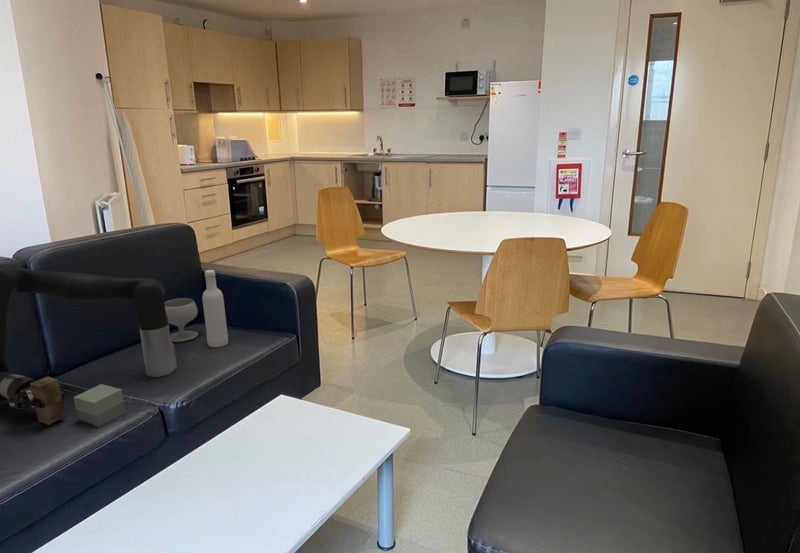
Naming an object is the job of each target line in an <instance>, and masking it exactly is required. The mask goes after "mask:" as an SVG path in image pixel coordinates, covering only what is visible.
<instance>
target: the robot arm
mask: <svg viewBox="0 0 800 553" xmlns="http://www.w3.org/2000/svg"><path fill="white" fill-rule="evenodd" d="M15 293H16V294H18V293H25V294H27V293H29V294H39V295H40V294H41V295H45V296H48V297H52V298H54V299H60V300H65V301H71V302H83V303H84V302H85V303H86V302H89V303H91V302H92V303H93V302H102V301H103V302H104V301H109V300H110V301H111V300H129V301H133V306H134V310H135V311H134V312H135V318H136V322H137V324H138V329H139V334H140V342H141V347H142V353H143V354H142V355H143V360H144V366H145V374H146V376H148V377H150V378H159V377H165V376H168V375H170V374H172V373H173V372H174V371H175V370H176V369H178V366H177V365H178V364H177V358H176V350H175V343H174V342H171V339H170V335H171V334H170V332H171V331H170V325H169V323H168V318H167V315H166V310H165V298H164V296H165V293H166V292H165V287H164V285H163V283H161V282H160V281H159V280H157V279H155V278H143V277H141V278H139V277H138V278H134V277H133V278H127V277H126V278H125V277H114V276H109V275H108V276H107V275H100V274H99V275H98V274H92V273H91V274H90V273H84V272H83V273H82V272H74V271H73V272H67V271H46V270H45V271H43V270H34V269H29V268H23V267H17V266H13V265H7V264H5V265H4V264H2V265H0V396H2V397H4V398H5V399H7V400H8V405H9V408H11V409H17V410H24V411H25V410H28V409H29V407H30V408H35V407H36V408H42V409H43V408H45V404H44V401H42V400H39V399H35V398H34V397H33V395H32V390H31V386H30V383H33V382H35V381H37V379H34V378H30V377H27V376H24V375H22V374H21V375H20V374H15V373H12V372H11V367H10V365H9V358H8V348H9V338H10V337H9V336H10V334H9V333H10V331H9V330H10V329H9V322H8V308H9V303H10V299H11V296H12V294H15ZM59 387H60V392H61V398H62V401H63V400H65V398H66V397H65V396H66V395H65V392H64V390H63V385H62V384H61V383H59ZM36 408H35V409H36Z"/></svg>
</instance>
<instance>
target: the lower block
mask: <svg viewBox="0 0 800 553" xmlns="http://www.w3.org/2000/svg"><path fill="white" fill-rule="evenodd" d="M76 411H77V415H78V420H79V419H81V420H84V421H86V422H89V423H91V424H93V425H92V426H94V425H95V426H94V427H97V428H99V427H102V426H103V425H106V424H107V423H109V422H111V421H114V420H115V419H117V418H119V417H121V416H124V415H125V414H127V409H126V404H125V401H124V402H122V403H120V404H118V405H116V406H114V407H112V408H110V409H108V410H107V411H105V412H103V413H101V414H99V415H97V416H96V415H93V414H89V413H86V412H82V411H79V410H76ZM81 420H80V421H81ZM86 422H85V423H86ZM89 423H88V424H89ZM91 424H90V425H91Z"/></svg>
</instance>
